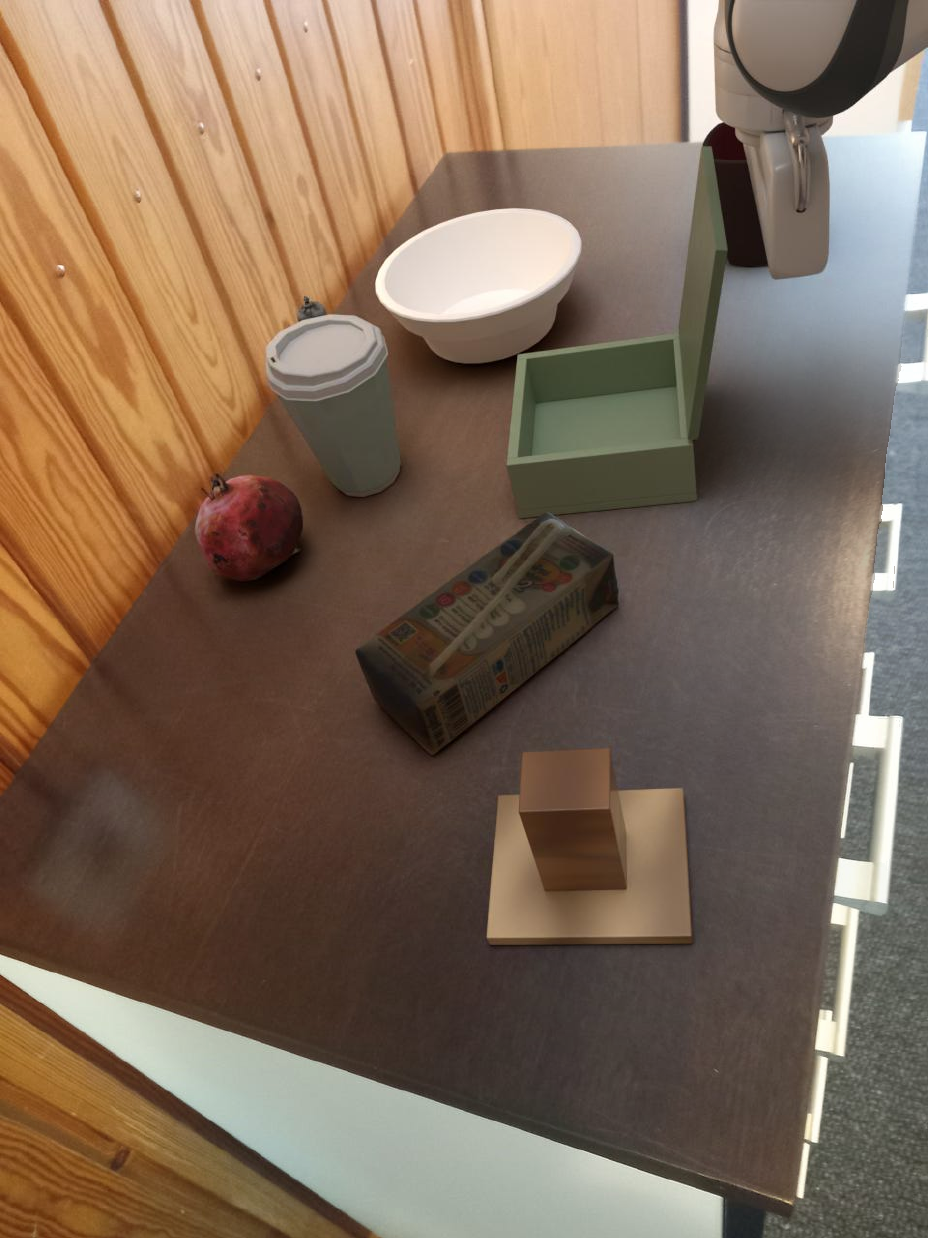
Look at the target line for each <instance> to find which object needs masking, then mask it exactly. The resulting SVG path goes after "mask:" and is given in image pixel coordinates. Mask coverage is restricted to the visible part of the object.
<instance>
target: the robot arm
mask: <svg viewBox="0 0 928 1238" xmlns="http://www.w3.org/2000/svg"><path fill="white" fill-rule="evenodd" d="M717 5H718V6H717V7H718V8H717V13H716V18H715V21H714V26H713V35H712V36H713V39H712V40H713V64H714V65H713V66H714V67H713V68H714V99H715V103H714V104H715V113H716V116H717V118H718V119H719V120H720V121H721V122H724V123H725V124H727V125H729V126H732V127H735V134H736V137H737V138H738V140H740V141H741V142H743V145H744V150H745V154H746V158H747V163H748V167H749V172H750V177H751V182H752V187H753V192H754V197H755V202H756V207H757V212H758V216H759V221H760V226H761V231H762V236H763V241H764V246H765V251H766V256H767V261H768V264H767V266H768V270H769V274H770V277H771V279H773V280H775V281H777V280H778V281H779V280H787V279H797V278H803V277H809V276H814V275H819V274H822V273H823V272H824V271H825V269H826V268H827V264H828V262H829V261H828V260H829V255H830V211H831V209H830V208H831V206H830V205H831V182H830V166H829V158H828V153H827V149H826V145H825V143H824V139H823V137H822V136H824V135H825V134H826V133H827V132H828V131H829V130H830V129H831V128H832V126H833V123H834V116H837V115H839V114H842V113H844V112H846V111H847V110H849V109H851V108H852V107H854V106H855V105H856V104H857V103H859V101H861V100H862V99H863V98H864V97H866V95H868V94H869V93H870V92H871V91H872V90H874V89H875V88H876V87H878V85H880V84H881V83H882V82H883V81H884V80H885V79H886V78H887V77H888V76H889V75H890V74H891V73H892V72H894V71H895V70H897V69H899V68H900V67H901V66H903V65H904V64H906V63H907V62H909V61H910V60H912V59H913V58H914V57H916V56H918V55H919V54H920V53H921V52H923V51H924V50H926V49H927V48H928V0H718V4H717Z"/></svg>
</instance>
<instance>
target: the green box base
mask: <svg viewBox="0 0 928 1238" xmlns="http://www.w3.org/2000/svg"><path fill="white" fill-rule="evenodd" d="M514 377H515V378H514V387H513V388H514V389H513V399H512V408H511V418H510V427H509V437H508V447H507V456H506V465H505V466H506V471H507V473H508V479H509V481H510V482H509V483H510V486H511V490H512V494H513V500H514V502H515V503H514V504H515V507H516V511H517V515H518V519H528V518H529V519H530V518H538V517H540V516H541V515H542V514H543V513H545V512H547V513H550V514H552V515H553V516H558V515H559V516H560V515H568V514H569V515H570V514H579V513H589V512H599V511H607V510H608V511H609V510H618V509H619V510H620V509H630V508H638V507H639V508H641V507H649V506H658V505H659V506H660V505H669V504H671V505H672V504H678V503H680V504H681V503H689V502H697V501H698V493H697V492H698V491H697V480H696V479H697V478H696V467H695V465H696V464H695V451H694V439H688V437H687V425H686V413H685V400H684V388H683V376H682V364H681V352H680V340H679V332H674V333H667V334H660V335H653V336H651V335H650V336H645V337H636V338H629V339H622V340H616V341H615V340H614V341H607V342H600V343H595V344H585V345H578V346H571V347H564V348H556V349H549V350H543V351H534V352H525V353H518V354H517V359H516V368H515V376H514Z"/></svg>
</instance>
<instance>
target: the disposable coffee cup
mask: <svg viewBox="0 0 928 1238" xmlns="http://www.w3.org/2000/svg"><path fill="white" fill-rule="evenodd" d="M388 355H389V351H388V347H387V342H386V339H385V336H384V335H383V334H382V330H381V328H380V327H379V326H376V325H374V324H372V323H371V322H369V321H367V320H365V319H363V318H361V317H359V316H357V315H353V314H352V315H351V314H349V315H348V314H334V313H333V314H331V313H330V314H327V315H324V316H320V317H315V318H311V319H306V320H302V321H300V322H298V321H297V322H296V323H294V324H292V325H290V326H288V327H287V328H284V329H282V330H280V331H279V332H277V334H276V335H275V336H274V337H273V338H272V340H271V341H270V342H269V343H268V344H267V345H266V346H265V357H266V359H265V361H264V362H265V375H266V378H267V384H268V386H269V388H270V389H271V391H272V392H274V393H275V394H276V395H277V397H278V398H279V400H280V401H281V403H282V406H284V408H285V410H286V411H287V413H288V415H289V416H290V418H291V419H292V421H293V423H294V424H295V426H296V428H297V429H298V431H299V433H300V434H301V435H302V437H303V439H304V440H305V442H306V444H307V445H308V447H309V448H310V450H311V452H312V454H313V455H314V456H315V458H316V460H317V461H318V463H319V464H320V467H321V468H322V470H323V471H324V473H325V474H326V476H327V478H328V479H329V481H330V483H331V484H332V485H333V486H334V487H336V488H337V489H338V490H339V491H340V492H342V493H343V494H344V495H346V496H348V497H359V498H365V497H368V496H371V495H376V494H379V493H382V492H383V491H384V490H386V489H387V488H389V487H390V486H391V485H392V484H394V483H395V481H396V479H397V477H398V475H399V474H400V472H401V469H400V467H401V466H402V460H401V453H400V446H399V445H400V444H399V439H398V432H397V424H396V417H395V411H394V410H395V409H394V404H393V403H394V402H393V397H392V390H391V382H390V375H389V367H388V360H387V357H388Z"/></svg>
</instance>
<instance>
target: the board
mask: <svg viewBox="0 0 928 1238" xmlns="http://www.w3.org/2000/svg"><path fill="white" fill-rule="evenodd" d="M684 790H685V789H684V788H683V787H674V788H673V787H671V788H649V789H648V788H647V789H646V788H645V789H644V788H643V789H623V790H619V789H618V792H619V797H620V802H621V807H622V813H623V818H624V823H625V828H626V850H627V889H617V890H565V891H545V890H544V888H543V885H542V882H541V878H540V875H539V872H538V869H537V866H536V863H535V860H534V857H533V854H532V851H531V848H530V845H529V842H528V839H527V836H526V833H525V830H524V827H523V824H522V821H521V818H520V815H519V796H520V793H519V794H499V795H497V803H496V804H497V805H496V818H495V828H494V829H495V830H494V841H493V842H494V843H493V853H492V855H493V856H492V867H491V878H490V889H489V903H488V914H487V915H488V916H487V926H486V940H487V942H488V945H490V946H524V945H525V946H529V945H531V946H534V945H535V946H538V945H540V946H541V945H542V946H543V945H545V946H546V945H548V946H549V945H658V944H659V945H667V944H668V945H673V944H675V945H676V944H678V945H680V944H681V945H682V944H688V945H689V944H693V943H694V940H693V922H692V906H691V905H692V904H691V889H690V886H691V885H690V874H689V873H690V870H689V855H688V852H689V851H688V837H687V821H686V820H687V818H686V817H687V816H686V804H685V803H686V802H685V801H686V799H685V791H684Z"/></svg>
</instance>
